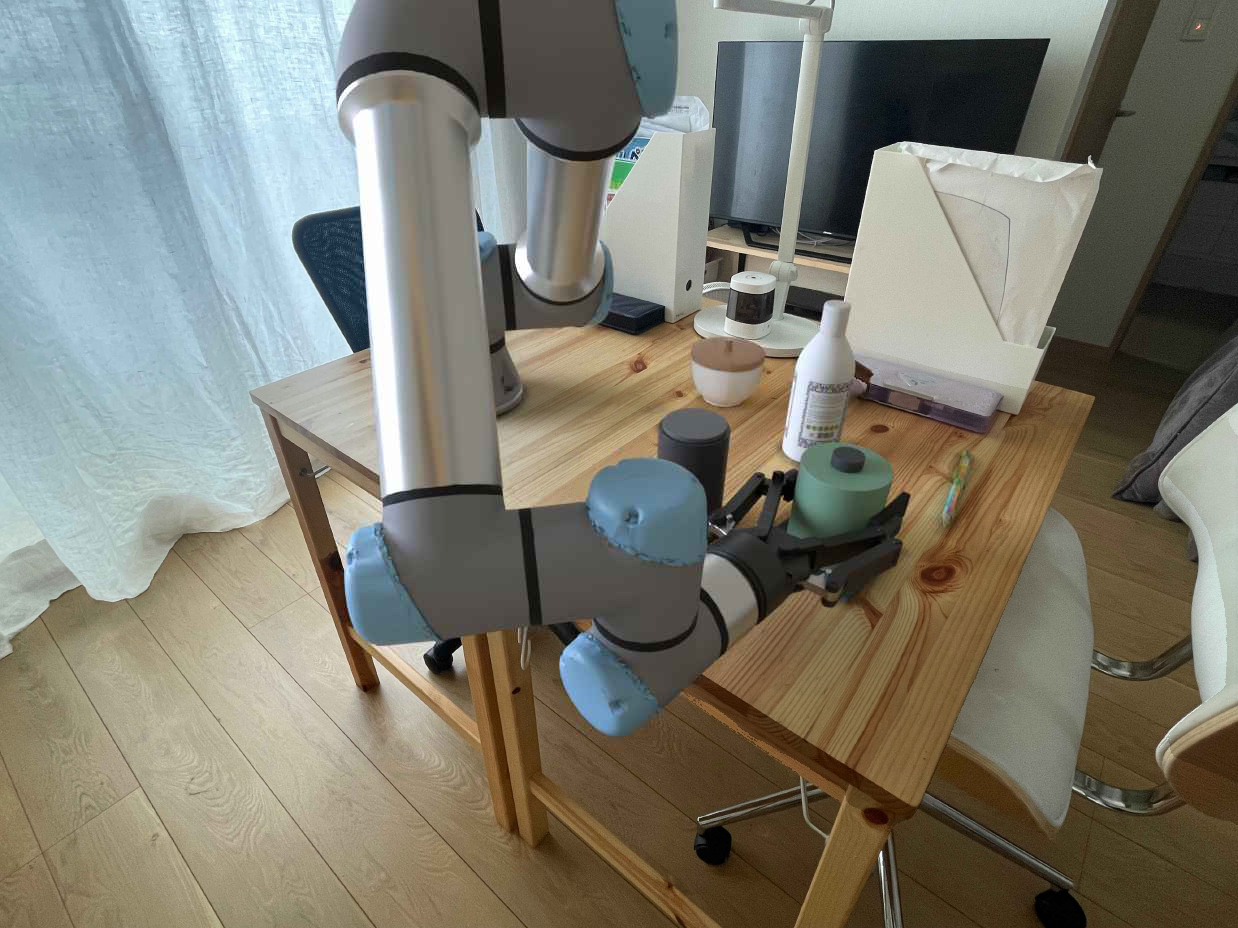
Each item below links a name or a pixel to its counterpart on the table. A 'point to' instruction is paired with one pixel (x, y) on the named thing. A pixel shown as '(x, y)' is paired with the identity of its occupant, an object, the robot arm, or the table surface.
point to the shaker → (698, 449)
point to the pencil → (957, 488)
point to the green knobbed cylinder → (838, 490)
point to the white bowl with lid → (726, 369)
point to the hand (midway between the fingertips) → (860, 484)
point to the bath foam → (821, 385)
